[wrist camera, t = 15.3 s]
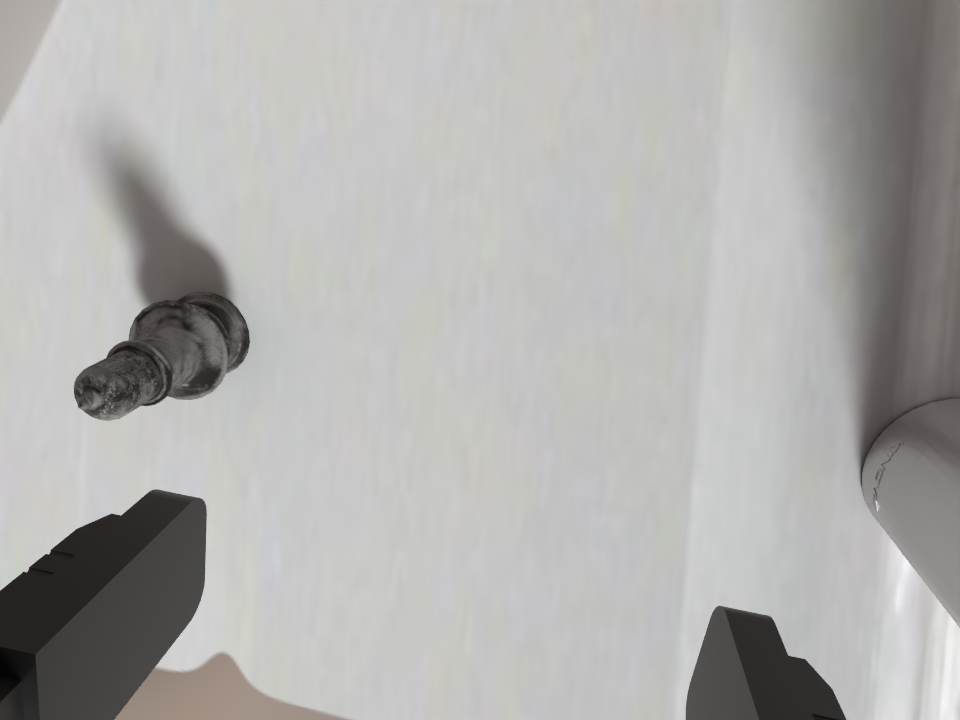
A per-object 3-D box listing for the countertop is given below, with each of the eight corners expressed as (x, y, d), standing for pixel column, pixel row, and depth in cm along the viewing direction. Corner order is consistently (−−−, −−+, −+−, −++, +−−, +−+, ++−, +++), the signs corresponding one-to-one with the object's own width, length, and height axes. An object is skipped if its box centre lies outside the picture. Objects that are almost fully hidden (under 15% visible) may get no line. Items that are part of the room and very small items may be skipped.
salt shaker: (163, 279, 43) (14, 333, 31) (256, 296, 42) (141, 358, 31) (162, 369, 44) (21, 452, 33) (251, 387, 44) (140, 477, 33)
